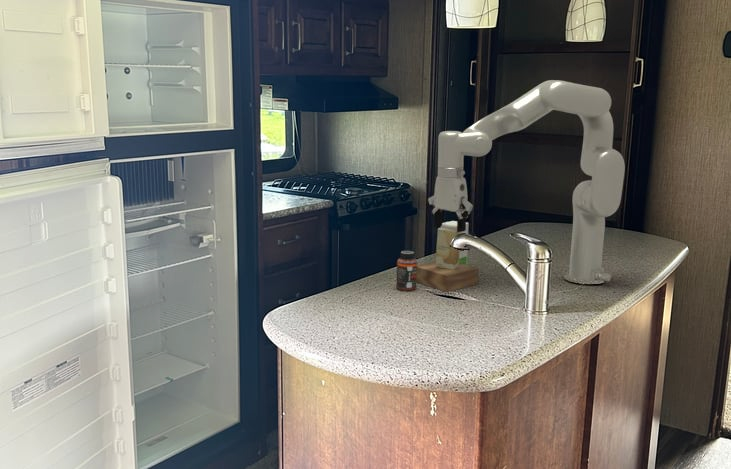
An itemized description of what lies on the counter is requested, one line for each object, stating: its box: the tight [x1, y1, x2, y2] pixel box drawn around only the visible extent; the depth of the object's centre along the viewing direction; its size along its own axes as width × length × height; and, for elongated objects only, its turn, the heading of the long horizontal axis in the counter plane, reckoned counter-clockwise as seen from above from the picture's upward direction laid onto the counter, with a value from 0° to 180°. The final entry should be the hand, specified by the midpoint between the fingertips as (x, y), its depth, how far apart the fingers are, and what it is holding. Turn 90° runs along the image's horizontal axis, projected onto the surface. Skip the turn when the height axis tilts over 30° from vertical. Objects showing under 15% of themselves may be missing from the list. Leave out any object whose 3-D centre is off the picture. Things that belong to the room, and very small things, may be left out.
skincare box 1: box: [435, 226, 461, 270], centre depth 219 cm, size 6×4×12 cm
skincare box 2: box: [440, 220, 470, 265], centre depth 237 cm, size 8×7×16 cm
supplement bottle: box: [395, 250, 418, 292], centre depth 214 cm, size 6×6×11 cm
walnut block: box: [416, 260, 479, 293], centre depth 221 cm, size 14×14×5 cm
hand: (449, 228), depth 218 cm, fingers open, 9 cm apart
